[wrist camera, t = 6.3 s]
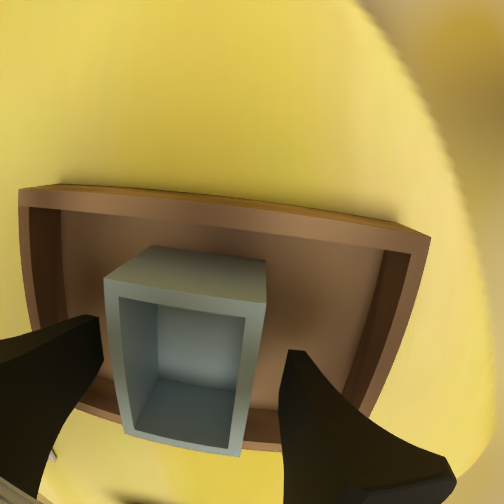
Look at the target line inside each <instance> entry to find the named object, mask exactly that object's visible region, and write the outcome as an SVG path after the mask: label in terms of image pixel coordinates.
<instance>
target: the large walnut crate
mask: <svg viewBox="0 0 504 504" xmlns="http://www.w3.org/2000/svg"><path fill="white" fill-rule="evenodd" d="M18 215H19V240H20V254H21V265H22V274H23V282H24V289H25V296H26V302H27V308H28V313H29V318H30V323H31V328H32V332H33V331H36V330H39V329H42V328H45V327H48V326H51V325H53V324H56V323H59V322H62V321H65V320H67V319H70V318H73V317H76V316H80V315H84V314H89V315H92V316H96V317H99V323H100V332H101V340H102V347H103V354H104V362H103V364H102V366H101V368H100V370H99V372H98V374H97V376H96V377H95V379H94V381H93V382H92V384H91V385H90V386H89V388H88V389H87V391H86V392H85V393H84V395H83V396H82V398H81V399H80V400H79V402H78V403H77V405H76V406H75V407H74V408H76V409H78V410H81V411H84V412H86V413H89V414H92V415H95V416H98V417H100V418H103V419H106V420H109V421H112V422H116V423H119V424H122V420H121V415H120V410H119V405H118V400H117V395H116V389H115V384H114V378H113V371H112V365H111V358H110V350H109V342H108V333H107V323H106V311H105V297H104V277H106V276H107V275H108V274H110V273H111V272H113V271H114V270H115V269H117V268H118V267H120V266H121V265H123V264H124V263H126V262H127V261H129V260H130V259H131V258H133V257H134V256H136V255H137V254H139V253H140V252H142V251H143V250H145V249H146V248H148V247H149V246H151V245H154V246H161V247H169V248H176V249H183V250H191V251H198V252H206V253H213V254H220V255H228V256H235V257H243V258H251V259H258V260H266V310H265V316H264V322H263V329H262V335H261V341H260V347H259V353H258V359H257V364H256V370H255V376H254V382H253V388H252V393H251V399H250V404H249V410H248V416H247V421H246V426H245V432H244V437H243V443H242V448H241V449H246V450H256V451H269V452H282V445H281V437H280V428H279V418H278V395H279V388H280V384H281V379H282V375H283V371H284V366H285V362H286V357H287V353H288V349H292V350H303V351H306V352H307V354H308V355H309V356H310V358H311V359H312V360H313V362H314V363H315V364H316V366H317V367H318V368H319V369H320V371H321V372H322V373H323V374H324V376H325V377H326V378H327V379H328V380H329V382H330V383H331V384H332V385H333V386H334V387H335V388H336V390H337V391H338V392H339V393H340V394H341V395H342V396H343V397H344V398H345V399H346V400H347V401H348V402H349V403H351V404H352V405H353V406H354V407H355V408H356V409H357V410H359V411H360V412H361V413H362V414H363V415H365V416H366V417H367V418H369V416H370V414H371V412H372V410H373V408H374V406H375V404H376V401H377V399H378V397H379V395H380V393H381V390H382V388H383V386H384V384H385V381H386V379H387V377H388V374H389V372H390V370H391V367H392V365H393V362H394V360H395V357H396V355H397V352H398V349H399V347H400V344H401V341H402V338H403V336H404V333H405V330H406V327H407V324H408V321H409V318H410V315H411V312H412V309H413V306H414V302H415V299H416V296H417V292H418V289H419V285H420V282H421V278H422V274H423V270H424V267H425V263H426V258H427V254H428V250H429V246H430V241H431V237H430V236H427V235H425V234H423V233H420V232H418V231H416V230H413V229H411V228H409V227H406V226H404V225H401V224H399V223H395V222H390V221H384V220H379V219H373V218H368V217H362V216H356V215H350V214H344V213H338V212H332V211H326V210H320V209H313V208H306V207H300V206H293V205H286V204H279V203H271V202H264V201H256V200H248V199H240V198H231V197H223V196H214V195H205V194H195V193H185V192H174V191H163V190H151V189H139V188H125V187H110V186H93V185H73V184H54V185H45V186H38V187H30V188H23V189H19V194H18ZM122 425H123V424H122Z"/></svg>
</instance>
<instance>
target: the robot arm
mask: <svg viewBox="0 0 504 504" xmlns="http://www.w3.org/2000/svg"><path fill="white" fill-rule="evenodd" d="M103 362H104V354H103V347H102V340H101V332H100V323H99V317H96V316H92V315H89V314H84V315H80V316H76V317H73V318H70V319H67V320H65V321H62V322H59V323H56V324H53V325H51V326H48V327H45V328H42V329H39V330H36V331H33V332H30V333H27V334H23V335H20V336H16V337H12V338H7V339H2V340H0V504H5V503H6V504H43V503H41V502H39V501H38V500H36V499H37V494H38V490H39V486H40V482H41V478H42V475H43V472H44V469H45V466H46V463H47V460H48V459H49V460H51V461H53V462H55V461H56V460H57V459H56V457H55V455H54V453H53V451H52V448H53V445H54V443H55V441H56V438H57V436H58V434H59V432H60V430H61V428H62V426H63V424H64V423H65V421H66V419H67V418H68V416H69V415H70V413H71V412H72V410H73V409H74V407H75V406H76V405H77V403H78V402H79V400H80V399H81V398H82V396H83V395H84V393H85V392H86V391H87V389H88V388H89V386H90V385H91V384H92V382H93V381H94V379H95V377H96V376H97V374H98V372H99V370H100V368H101V366H102V364H103ZM278 418H279V428H280V437H281V445H282V454H283V463H284V499H283V504H441V503H442V502H443V501H444V500H445V499H446V498H447V497H448V496H449V495H450V494H451V493H452V492H453V490H454V488H455V486H456V484H457V480H456V477H455V475H454V473H453V471H452V469H451V467H450V465H449V463H448V461H447V460H446V458H445V457H443V456H441V455H438V454H435V453H432V452H429V451H427V450H424V449H421V448H419V447H416V446H414V445H412V444H410V443H408V442H406V441H404V440H402V439H400V438H398V437H396V436H395V435H393V434H391V433H389V432H388V431H386V430H385V429H383V428H382V427H380V426H378V425H377V424H375V423H374V422H373V421H371V420H370V419H369V418H367V417H366V416H365V415H363V414H362V413H361V412H360V411H359V410H357V409H356V408H355V407H354V406H353V405H352V404H351V403H349V402H348V401H347V400H346V399H345V398H344V397H343V396H342V395H341V394H340V393H339V392H338V391H337V390H336V388H335V387H334V386H333V385H332V384H331V383H330V382H329V380H328V379H327V378H326V377H325V376H324V374H323V373H322V372H321V371H320V369H319V368H318V367H317V366H316V364H315V363H314V362H313V360H312V359H311V358H310V356H309V355H308V354H307V352H306V351H303V350H292V349H288V353H287V357H286V362H285V366H284V371H283V375H282V379H281V384H280V388H279V395H278Z"/></svg>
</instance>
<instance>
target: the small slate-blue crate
mask: <svg viewBox="0 0 504 504" xmlns="http://www.w3.org/2000/svg"><path fill="white" fill-rule="evenodd" d="M104 297H105V311H106V323H107V333H108V342H109V350H110V358H111V365H112V371H113V378H114V384H115V389H116V395H117V400H118V405H119V410H120V415H121V420H122V424H123V428H124V433H125V434H128V435H131V436H135V437H138V438H142V439H146V440H149V441H153V442H157V443H161V444H166V445H170V446H174V447H179V448H184V449H189V450H194V451H200V452H206V453H212V454H218V455H225V456H233V457H240V453H241V448H242V443H243V437H244V432H245V426H246V421H247V416H248V410H249V404H250V399H251V393H252V388H253V382H254V376H255V370H256V364H257V359H258V353H259V347H260V341H261V335H262V329H263V322H264V316H265V310H266V260H258V259H251V258H243V257H235V256H228V255H220V254H213V253H206V252H198V251H191V250H183V249H176V248H169V247H161V246H154V245H151V246H149V247H148V248H146V249H145V250H143V251H142V252H140V253H139V254H137V255H136V256H134V257H133V258H131V259H130V260H129V261H127V262H126V263H124V264H123V265H121V266H120V267H118V268H117V269H115V270H114V271H113V272H111V273H110V274H108V275H107V276H106V277H104Z"/></svg>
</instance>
